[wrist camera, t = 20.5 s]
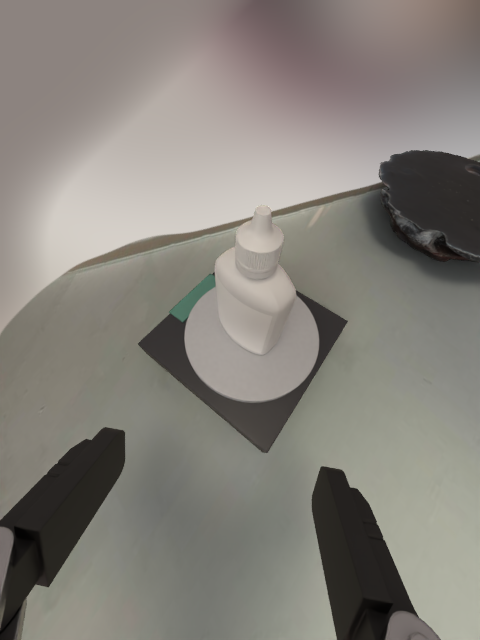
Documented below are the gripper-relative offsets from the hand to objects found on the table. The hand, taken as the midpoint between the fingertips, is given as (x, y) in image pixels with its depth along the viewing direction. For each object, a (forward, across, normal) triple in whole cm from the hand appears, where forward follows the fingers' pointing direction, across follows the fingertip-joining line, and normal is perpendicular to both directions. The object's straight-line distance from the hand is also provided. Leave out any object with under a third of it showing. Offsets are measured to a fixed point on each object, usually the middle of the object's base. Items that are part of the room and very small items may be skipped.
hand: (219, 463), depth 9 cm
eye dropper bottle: (+13, 0, +2) cm, 13 cm away
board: (+31, +25, +15) cm, 42 cm away
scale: (+15, 0, 0) cm, 15 cm away
